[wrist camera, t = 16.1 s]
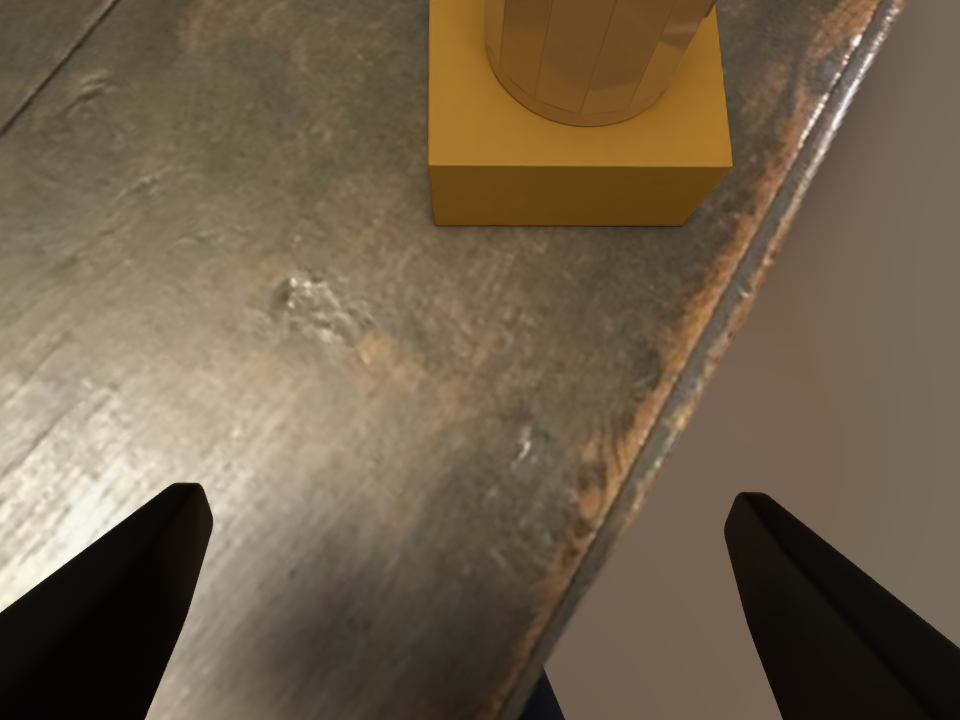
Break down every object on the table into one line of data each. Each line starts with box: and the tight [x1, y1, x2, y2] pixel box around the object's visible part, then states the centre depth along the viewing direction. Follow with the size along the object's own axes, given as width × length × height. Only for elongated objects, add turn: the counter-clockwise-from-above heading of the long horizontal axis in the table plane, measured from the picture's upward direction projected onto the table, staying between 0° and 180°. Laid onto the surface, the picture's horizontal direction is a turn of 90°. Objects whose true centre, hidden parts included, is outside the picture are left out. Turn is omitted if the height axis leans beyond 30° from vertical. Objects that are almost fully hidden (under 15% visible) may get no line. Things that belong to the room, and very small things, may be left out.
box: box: [428, 0, 733, 226], centre depth 24 cm, size 11×11×5 cm
